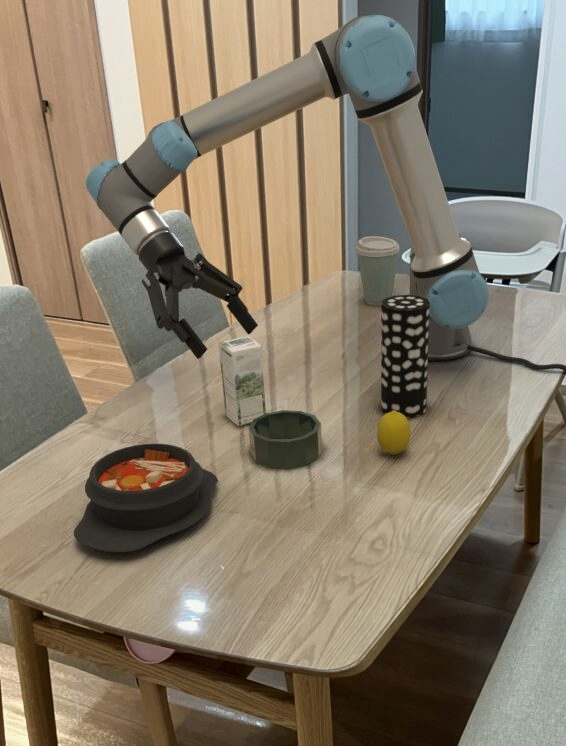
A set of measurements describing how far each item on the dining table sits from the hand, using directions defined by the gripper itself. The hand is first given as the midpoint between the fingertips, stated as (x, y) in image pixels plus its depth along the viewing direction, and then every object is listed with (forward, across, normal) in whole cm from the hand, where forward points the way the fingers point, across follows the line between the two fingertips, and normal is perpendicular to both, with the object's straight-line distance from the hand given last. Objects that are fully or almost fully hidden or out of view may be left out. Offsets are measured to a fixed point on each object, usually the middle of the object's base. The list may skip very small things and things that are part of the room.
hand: (228, 341), depth 145 cm
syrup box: (+12, 0, -8) cm, 15 cm away
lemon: (+33, -2, +13) cm, 36 cm away
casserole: (+18, +34, -2) cm, 38 cm away
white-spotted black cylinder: (+28, -18, +8) cm, 34 cm away
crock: (+22, +7, +2) cm, 23 cm away
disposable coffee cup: (+2, -68, -18) cm, 71 cm away
